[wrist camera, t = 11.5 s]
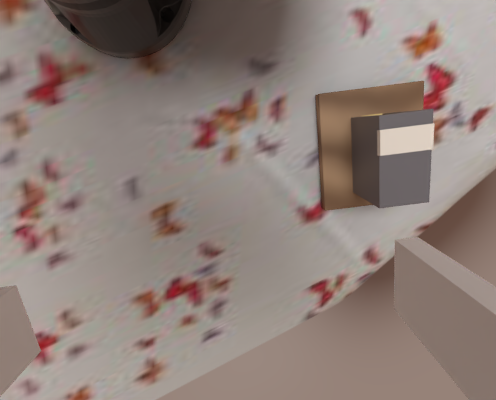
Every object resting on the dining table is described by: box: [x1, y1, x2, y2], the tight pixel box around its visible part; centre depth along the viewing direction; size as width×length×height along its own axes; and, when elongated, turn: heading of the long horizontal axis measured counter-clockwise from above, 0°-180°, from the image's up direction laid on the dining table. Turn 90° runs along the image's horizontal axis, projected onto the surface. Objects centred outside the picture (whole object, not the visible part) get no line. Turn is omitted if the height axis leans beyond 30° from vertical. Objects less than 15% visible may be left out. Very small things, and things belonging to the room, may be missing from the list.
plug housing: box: [351, 109, 434, 208], centre depth 30 cm, size 9×5×7 cm, turn 7°
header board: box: [316, 81, 424, 210], centre depth 32 cm, size 14×12×6 cm
